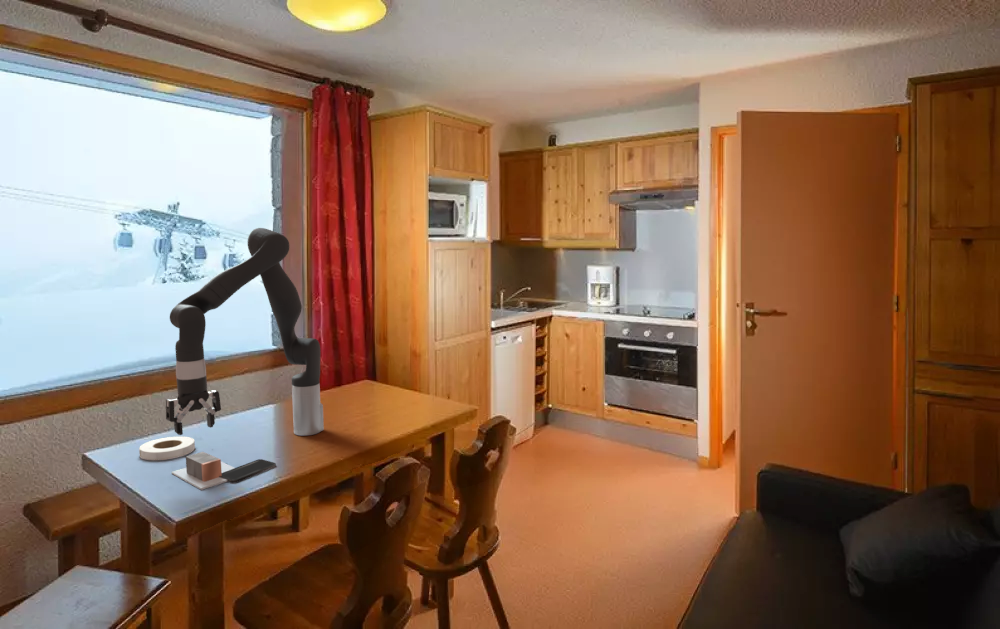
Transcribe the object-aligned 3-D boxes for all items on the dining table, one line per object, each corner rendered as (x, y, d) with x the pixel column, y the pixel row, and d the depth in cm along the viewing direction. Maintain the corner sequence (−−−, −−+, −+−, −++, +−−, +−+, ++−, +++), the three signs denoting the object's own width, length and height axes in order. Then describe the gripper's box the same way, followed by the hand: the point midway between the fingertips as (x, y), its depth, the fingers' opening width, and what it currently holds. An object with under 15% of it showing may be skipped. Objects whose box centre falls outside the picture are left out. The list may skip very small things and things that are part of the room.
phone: (215, 475, 171) (259, 458, 184) (216, 479, 171) (260, 462, 184) (234, 480, 167) (277, 463, 180) (234, 484, 168) (277, 467, 181)
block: (203, 451, 177) (220, 459, 171) (204, 467, 177) (221, 476, 171) (185, 456, 173) (203, 464, 167) (186, 473, 173) (204, 481, 167)
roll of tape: (177, 441, 203) (176, 433, 202) (205, 449, 195) (204, 441, 194) (129, 455, 189) (128, 446, 189) (157, 465, 182) (156, 455, 181)
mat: (216, 460, 184) (216, 458, 184) (246, 475, 173) (246, 473, 173) (171, 473, 174) (171, 471, 174) (201, 489, 163) (201, 488, 163)
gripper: (170, 382, 162) (175, 440, 164) (222, 372, 173) (226, 427, 175) (158, 377, 167) (163, 434, 169) (210, 368, 178) (214, 421, 180)
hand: (195, 430), depth 172 cm, fingers open, 8 cm apart
